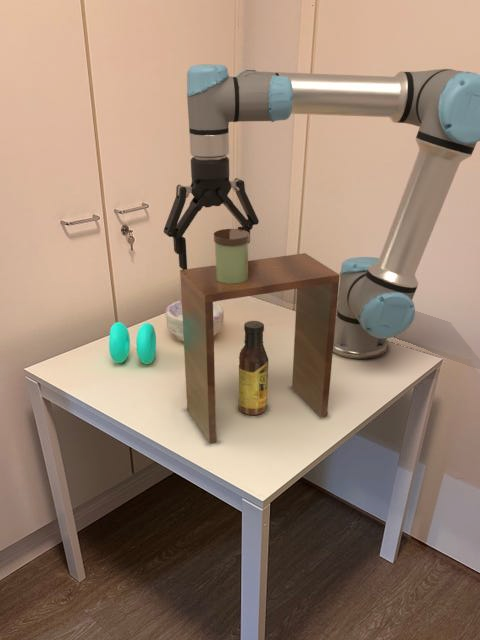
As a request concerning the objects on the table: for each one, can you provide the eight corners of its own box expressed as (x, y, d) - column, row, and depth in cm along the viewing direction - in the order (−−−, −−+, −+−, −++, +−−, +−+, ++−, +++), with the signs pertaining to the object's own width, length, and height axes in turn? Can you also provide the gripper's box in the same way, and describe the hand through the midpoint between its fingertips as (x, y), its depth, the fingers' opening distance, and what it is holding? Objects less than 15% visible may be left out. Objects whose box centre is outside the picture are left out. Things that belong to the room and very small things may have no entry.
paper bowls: (209, 353, 162) (208, 324, 157) (157, 342, 167) (154, 314, 162) (232, 330, 173) (232, 302, 169) (183, 321, 178) (182, 294, 174)
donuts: (151, 371, 153) (147, 333, 148) (110, 370, 154) (105, 332, 148) (158, 353, 162) (155, 316, 156) (119, 351, 162) (115, 315, 157)
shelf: (297, 386, 147) (305, 253, 130) (327, 416, 136) (339, 274, 119) (187, 410, 138) (179, 270, 121) (209, 443, 127) (204, 294, 110)
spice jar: (248, 272, 120) (248, 228, 116) (250, 284, 115) (250, 238, 110) (214, 272, 120) (213, 229, 115) (214, 284, 114) (213, 239, 110)
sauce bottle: (264, 418, 135) (266, 332, 125) (235, 415, 136) (235, 330, 126) (269, 402, 141) (271, 319, 130) (241, 399, 142) (242, 317, 131)
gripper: (258, 148, 130) (258, 250, 141) (142, 159, 121) (151, 267, 133) (275, 153, 124) (273, 260, 136) (154, 165, 115) (163, 278, 127)
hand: (213, 263), depth 134 cm, fingers open, 13 cm apart
